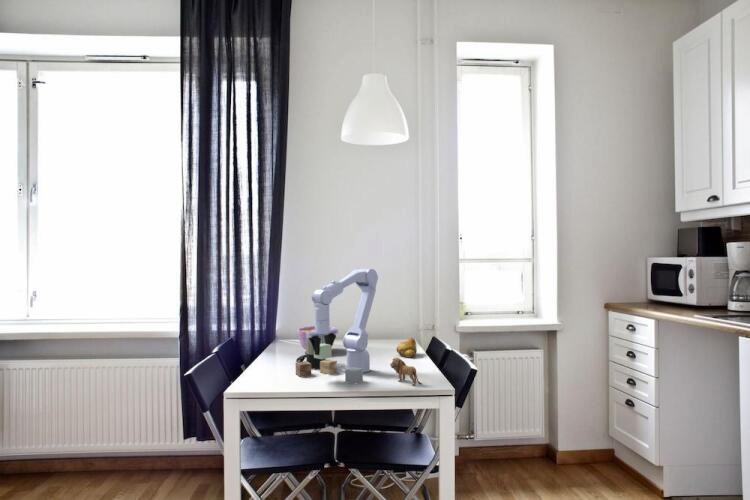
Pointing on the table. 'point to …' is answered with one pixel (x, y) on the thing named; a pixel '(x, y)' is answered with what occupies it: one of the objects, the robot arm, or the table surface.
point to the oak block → (328, 366)
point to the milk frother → (311, 354)
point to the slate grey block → (354, 375)
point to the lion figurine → (404, 370)
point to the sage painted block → (324, 352)
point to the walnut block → (303, 369)
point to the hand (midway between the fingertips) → (322, 353)
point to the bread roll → (407, 348)
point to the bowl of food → (303, 337)
